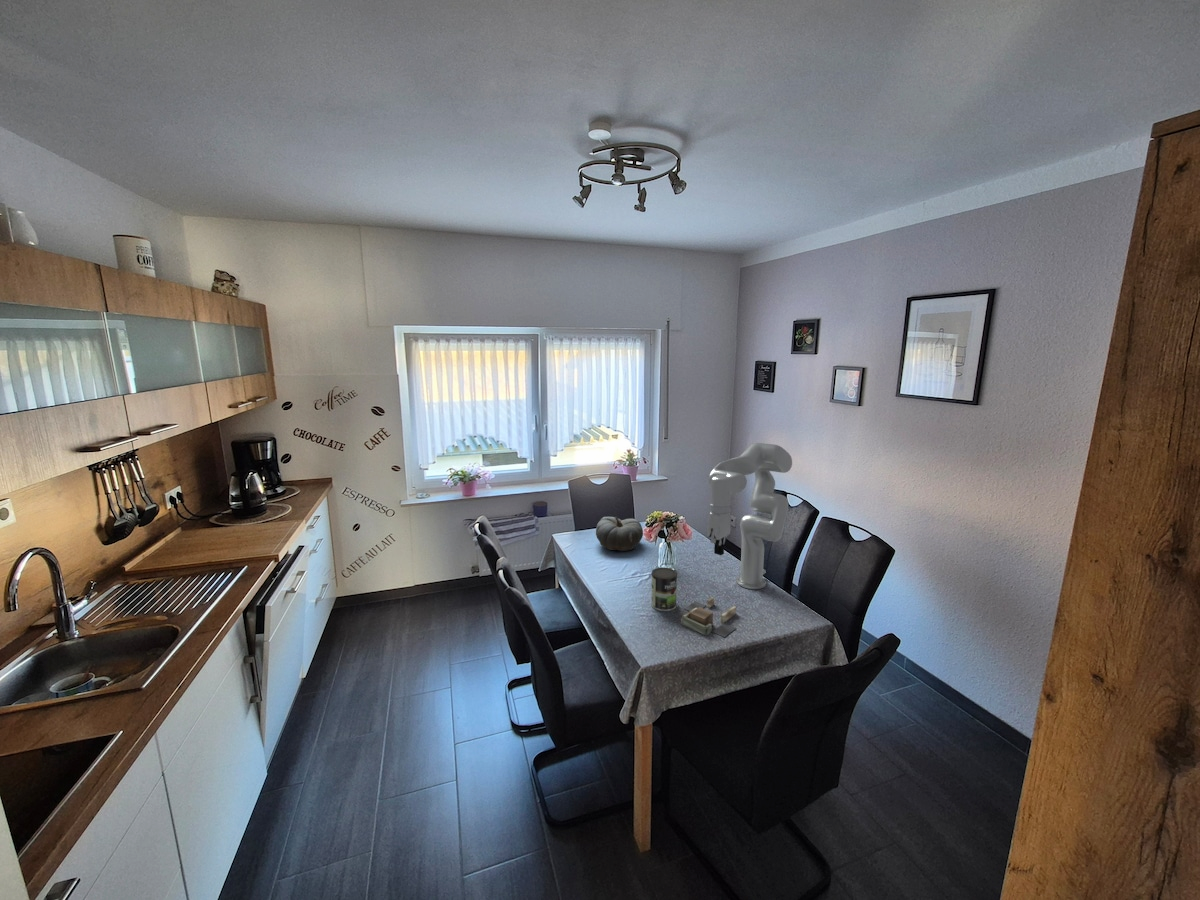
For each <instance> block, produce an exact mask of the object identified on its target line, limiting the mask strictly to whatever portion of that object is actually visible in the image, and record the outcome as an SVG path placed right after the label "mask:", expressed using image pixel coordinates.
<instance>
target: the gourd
mask: <svg viewBox="0 0 1200 900" xmlns="http://www.w3.org/2000/svg"><path fill="white" fill-rule="evenodd" d="M643 535H644V528H643V527H642V524H641V522H640V521H639V520H637V519H635V518H625V519H620V518H618V516H603V517H602V518H600V520H599V521H598V523H597V524H596V528H595V537H596V538H597V540H598V542H599V544H600V545H602V547H603V548H604V549H607V550H609V551H615V550H617V551H619V552H626V551H631V550H632V549H634V548H636V547H637V546H638V545H639V544H640V543H641V540H642V539H643Z"/></svg>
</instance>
